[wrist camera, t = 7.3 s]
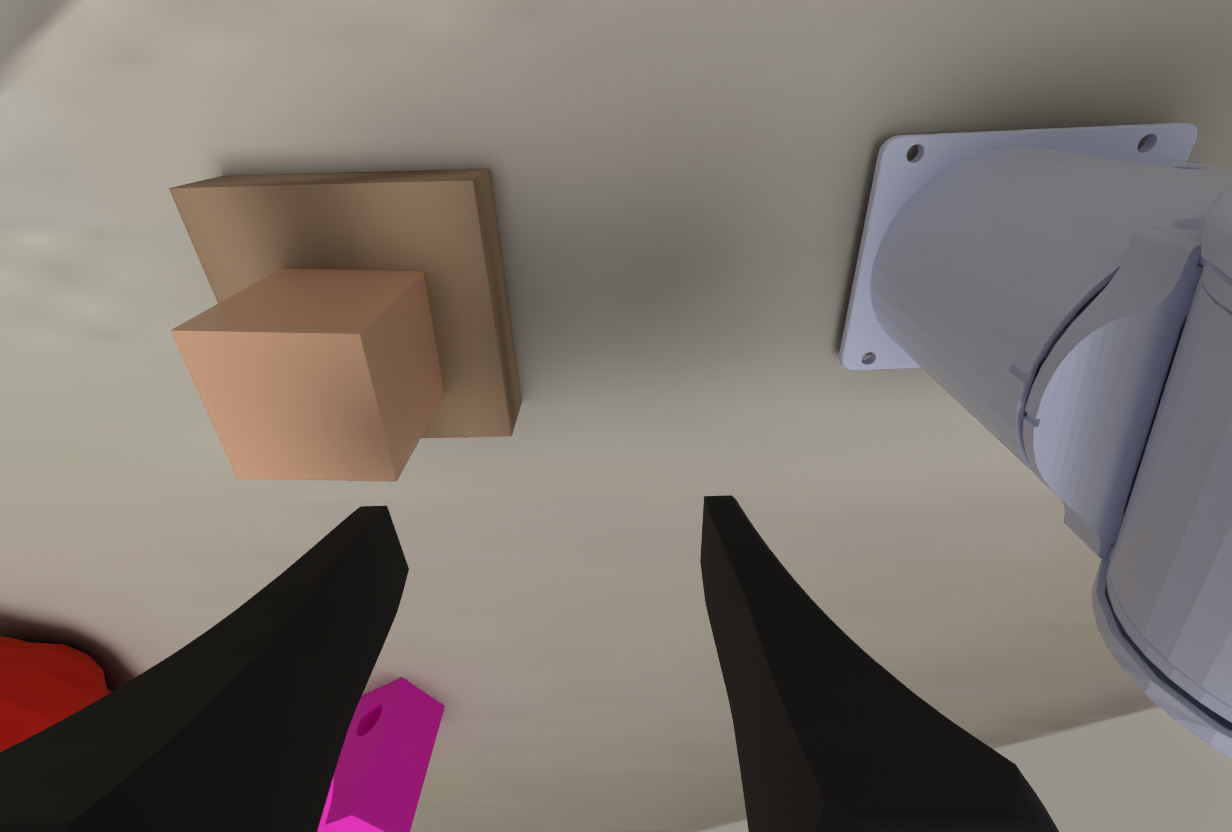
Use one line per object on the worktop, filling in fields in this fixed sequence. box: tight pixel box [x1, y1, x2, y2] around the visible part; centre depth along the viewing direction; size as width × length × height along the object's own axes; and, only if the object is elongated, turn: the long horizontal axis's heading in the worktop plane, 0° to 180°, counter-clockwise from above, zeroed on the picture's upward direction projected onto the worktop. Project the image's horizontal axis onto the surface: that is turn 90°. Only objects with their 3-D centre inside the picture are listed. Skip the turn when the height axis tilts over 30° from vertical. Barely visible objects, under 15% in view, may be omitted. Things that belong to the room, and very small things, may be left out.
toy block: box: [317, 677, 445, 832], centre depth 33 cm, size 15×6×8 cm, turn 124°
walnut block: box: [169, 169, 522, 438], centre depth 19 cm, size 9×9×3 cm
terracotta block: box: [171, 268, 445, 481], centre depth 16 cm, size 4×4×5 cm
